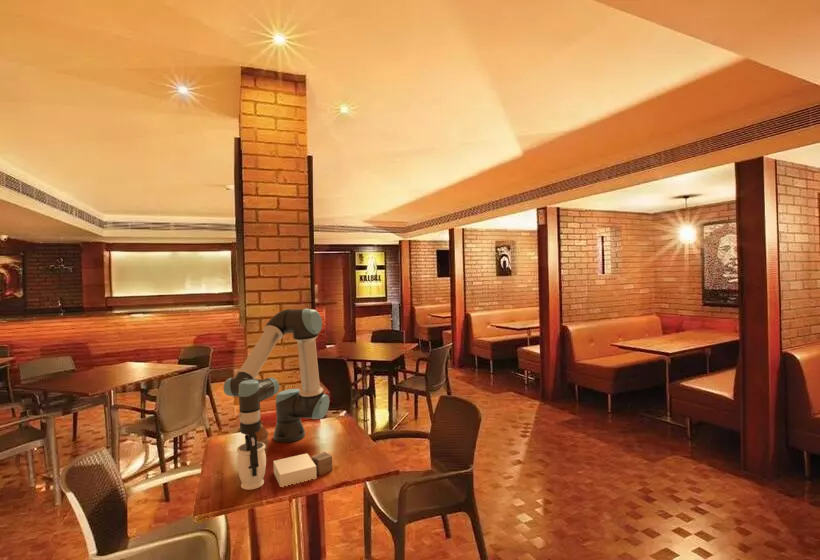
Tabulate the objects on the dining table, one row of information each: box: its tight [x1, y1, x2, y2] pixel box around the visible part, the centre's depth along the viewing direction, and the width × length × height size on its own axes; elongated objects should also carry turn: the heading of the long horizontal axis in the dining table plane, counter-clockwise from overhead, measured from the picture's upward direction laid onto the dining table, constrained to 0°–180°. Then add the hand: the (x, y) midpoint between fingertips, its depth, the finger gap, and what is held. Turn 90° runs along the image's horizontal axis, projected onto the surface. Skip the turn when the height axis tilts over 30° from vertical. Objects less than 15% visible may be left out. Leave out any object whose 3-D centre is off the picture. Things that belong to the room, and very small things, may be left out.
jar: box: [236, 442, 267, 491], centre depth 167 cm, size 11×10×15 cm
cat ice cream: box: [255, 420, 269, 455], centre depth 186 cm, size 9×8×18 cm
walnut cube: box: [311, 451, 333, 476], centre depth 178 cm, size 6×6×6 cm
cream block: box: [273, 452, 318, 488], centre depth 174 cm, size 14×14×5 cm
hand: (252, 477), depth 167 cm, fingers closed on jar, 10 cm apart
